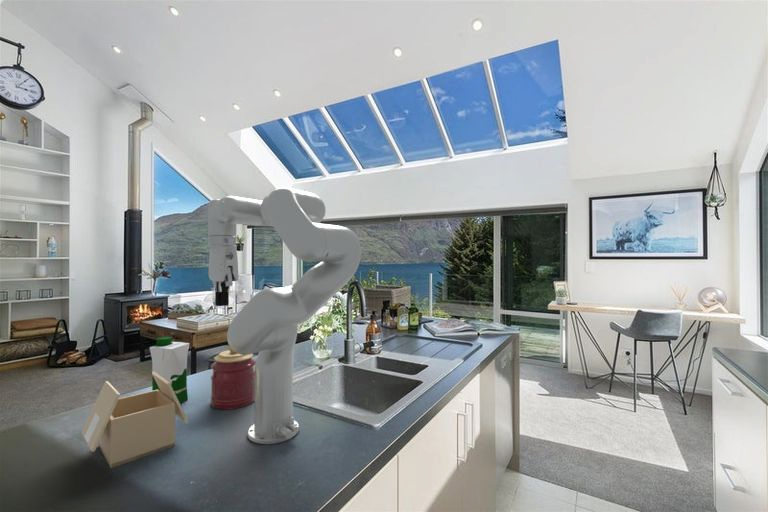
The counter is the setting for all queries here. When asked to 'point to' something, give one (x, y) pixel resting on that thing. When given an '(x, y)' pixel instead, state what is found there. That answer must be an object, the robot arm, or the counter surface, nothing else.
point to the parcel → (138, 428)
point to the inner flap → (170, 395)
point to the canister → (232, 380)
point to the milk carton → (171, 365)
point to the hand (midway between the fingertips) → (221, 305)
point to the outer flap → (100, 415)
